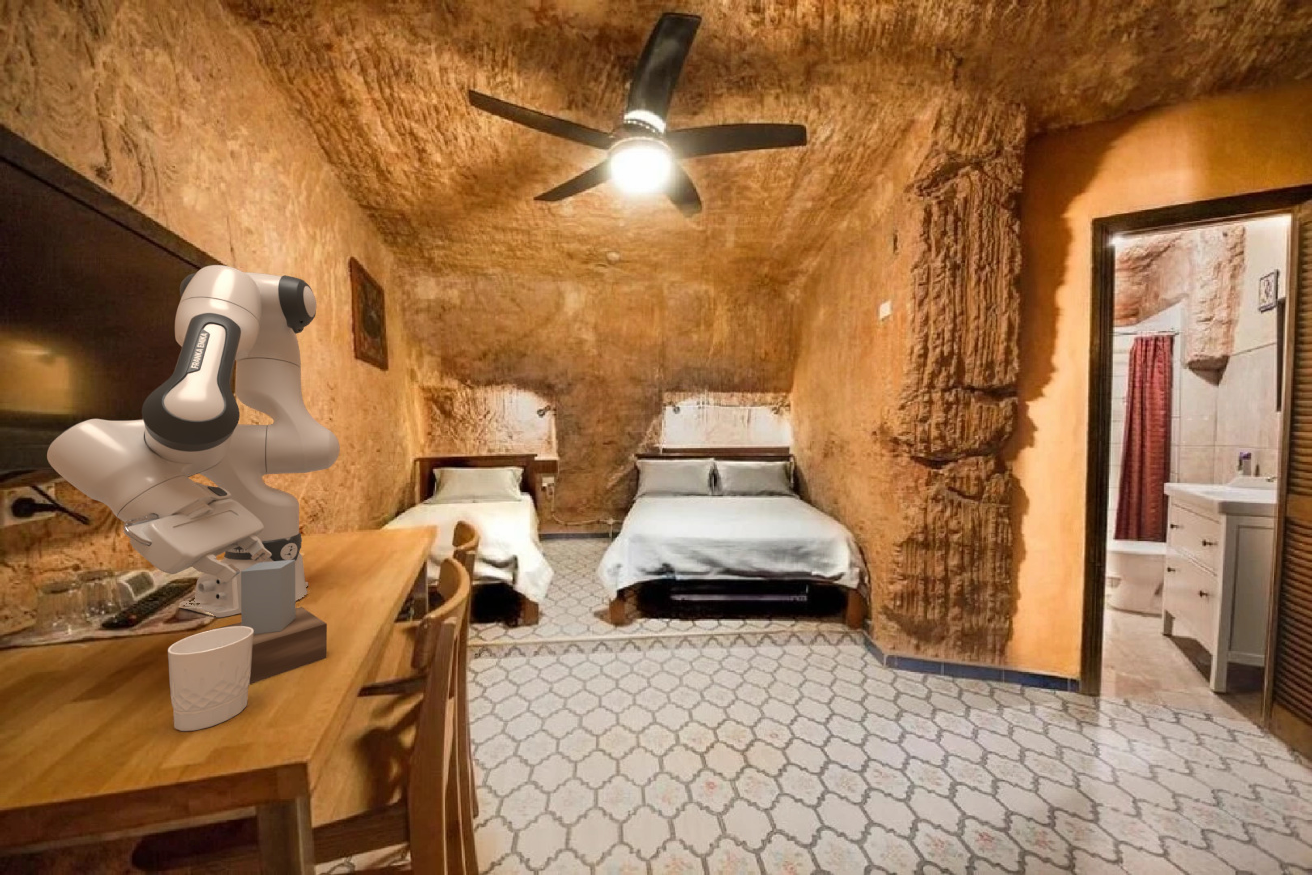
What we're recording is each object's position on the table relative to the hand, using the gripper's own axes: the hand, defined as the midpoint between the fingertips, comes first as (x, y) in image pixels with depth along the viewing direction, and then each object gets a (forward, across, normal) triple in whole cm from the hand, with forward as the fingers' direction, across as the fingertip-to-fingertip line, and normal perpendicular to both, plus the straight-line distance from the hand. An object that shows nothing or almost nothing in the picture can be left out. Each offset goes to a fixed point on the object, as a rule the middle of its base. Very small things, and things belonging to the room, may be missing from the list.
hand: (251, 567), depth 70 cm
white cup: (+13, -15, +9) cm, 21 cm away
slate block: (+9, -1, +5) cm, 10 cm away
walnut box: (+13, -1, +9) cm, 16 cm away
